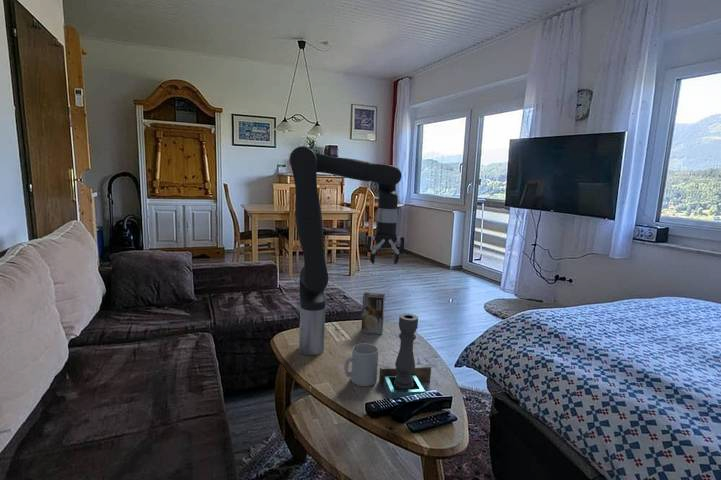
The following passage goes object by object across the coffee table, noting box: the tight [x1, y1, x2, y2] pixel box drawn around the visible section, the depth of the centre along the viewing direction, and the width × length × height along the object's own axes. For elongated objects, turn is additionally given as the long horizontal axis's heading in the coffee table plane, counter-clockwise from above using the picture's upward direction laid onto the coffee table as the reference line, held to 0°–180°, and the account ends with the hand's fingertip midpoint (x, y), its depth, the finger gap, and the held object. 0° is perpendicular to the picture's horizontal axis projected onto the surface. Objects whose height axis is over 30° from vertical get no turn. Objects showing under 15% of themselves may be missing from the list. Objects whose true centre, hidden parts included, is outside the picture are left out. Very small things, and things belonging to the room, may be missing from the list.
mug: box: [343, 342, 379, 387], centre depth 131 cm, size 12×8×11 cm
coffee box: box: [360, 292, 386, 335], centre depth 173 cm, size 9×6×16 cm
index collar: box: [382, 374, 426, 400], centre depth 126 cm, size 10×10×4 cm
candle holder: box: [393, 313, 419, 390], centre depth 124 cm, size 6×6×25 cm
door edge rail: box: [378, 363, 433, 385], centre depth 133 cm, size 17×2×5 cm, turn 100°
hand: (384, 263), depth 151 cm, fingers open, 8 cm apart
